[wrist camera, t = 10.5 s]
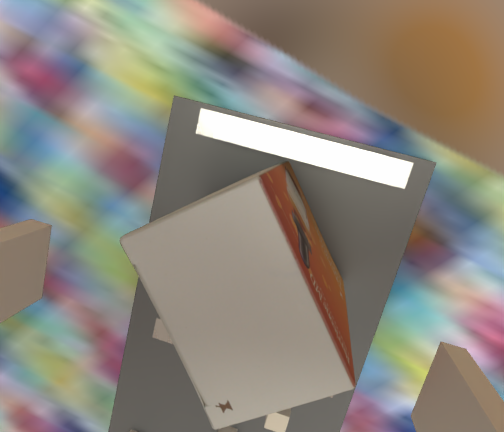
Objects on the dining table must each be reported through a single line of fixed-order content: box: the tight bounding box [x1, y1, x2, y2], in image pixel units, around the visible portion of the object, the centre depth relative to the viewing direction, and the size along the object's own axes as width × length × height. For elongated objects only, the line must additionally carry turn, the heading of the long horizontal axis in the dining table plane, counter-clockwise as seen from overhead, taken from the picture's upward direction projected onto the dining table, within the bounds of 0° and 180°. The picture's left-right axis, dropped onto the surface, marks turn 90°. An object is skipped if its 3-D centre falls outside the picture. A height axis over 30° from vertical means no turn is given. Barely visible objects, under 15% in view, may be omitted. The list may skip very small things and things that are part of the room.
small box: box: [120, 161, 356, 430], centre depth 18 cm, size 8×6×10 cm
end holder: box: [153, 108, 413, 398], centre depth 21 cm, size 10×12×4 cm
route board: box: [109, 96, 436, 432], centre depth 24 cm, size 15×26×4 cm, turn 166°
